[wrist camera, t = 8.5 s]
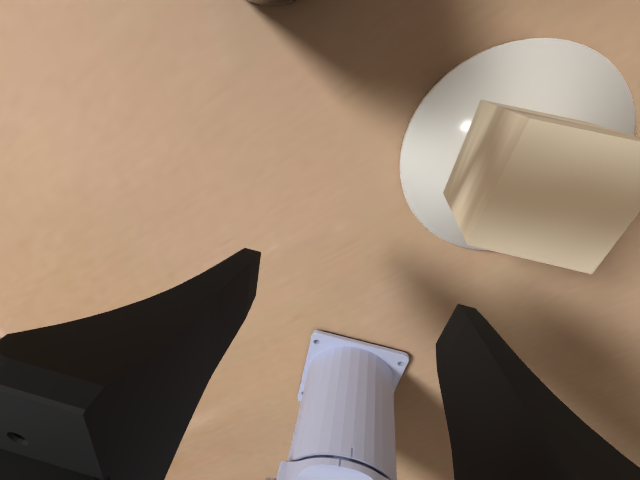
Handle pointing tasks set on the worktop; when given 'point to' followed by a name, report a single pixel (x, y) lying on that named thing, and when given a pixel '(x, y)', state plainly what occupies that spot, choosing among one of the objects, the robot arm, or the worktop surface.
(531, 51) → the coaster
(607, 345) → the worktop surface
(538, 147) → the beech block
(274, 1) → the supplement bottle
